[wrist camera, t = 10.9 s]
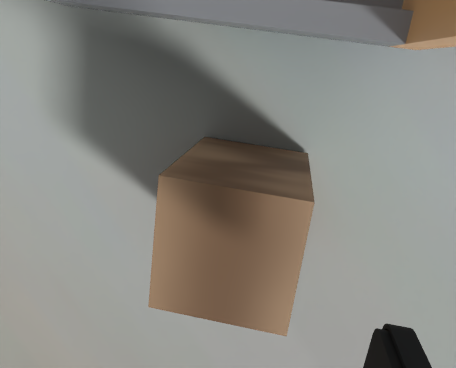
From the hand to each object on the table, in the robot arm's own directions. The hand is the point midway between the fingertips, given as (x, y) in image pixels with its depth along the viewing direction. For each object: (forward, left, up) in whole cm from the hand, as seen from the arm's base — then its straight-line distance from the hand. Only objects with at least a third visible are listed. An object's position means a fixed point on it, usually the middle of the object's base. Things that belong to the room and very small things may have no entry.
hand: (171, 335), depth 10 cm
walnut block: (-1, 0, -11) cm, 11 cm away
